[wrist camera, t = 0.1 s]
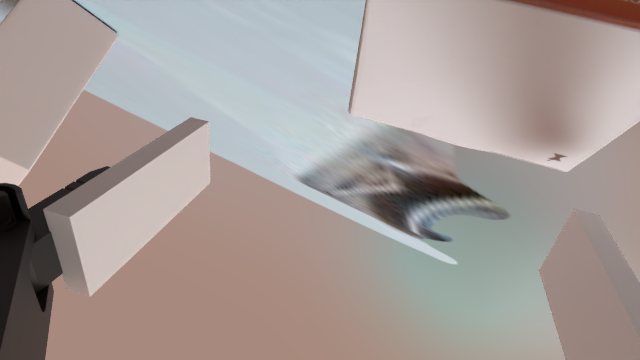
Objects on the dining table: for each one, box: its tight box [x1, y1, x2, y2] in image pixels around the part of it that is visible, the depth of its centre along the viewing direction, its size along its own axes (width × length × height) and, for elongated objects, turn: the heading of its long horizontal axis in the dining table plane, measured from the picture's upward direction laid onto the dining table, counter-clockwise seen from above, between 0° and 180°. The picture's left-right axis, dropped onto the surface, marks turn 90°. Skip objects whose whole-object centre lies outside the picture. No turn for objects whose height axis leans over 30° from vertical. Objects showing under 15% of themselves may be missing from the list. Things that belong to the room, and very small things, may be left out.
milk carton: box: [0, 0, 118, 186], centre depth 34 cm, size 7×7×19 cm
